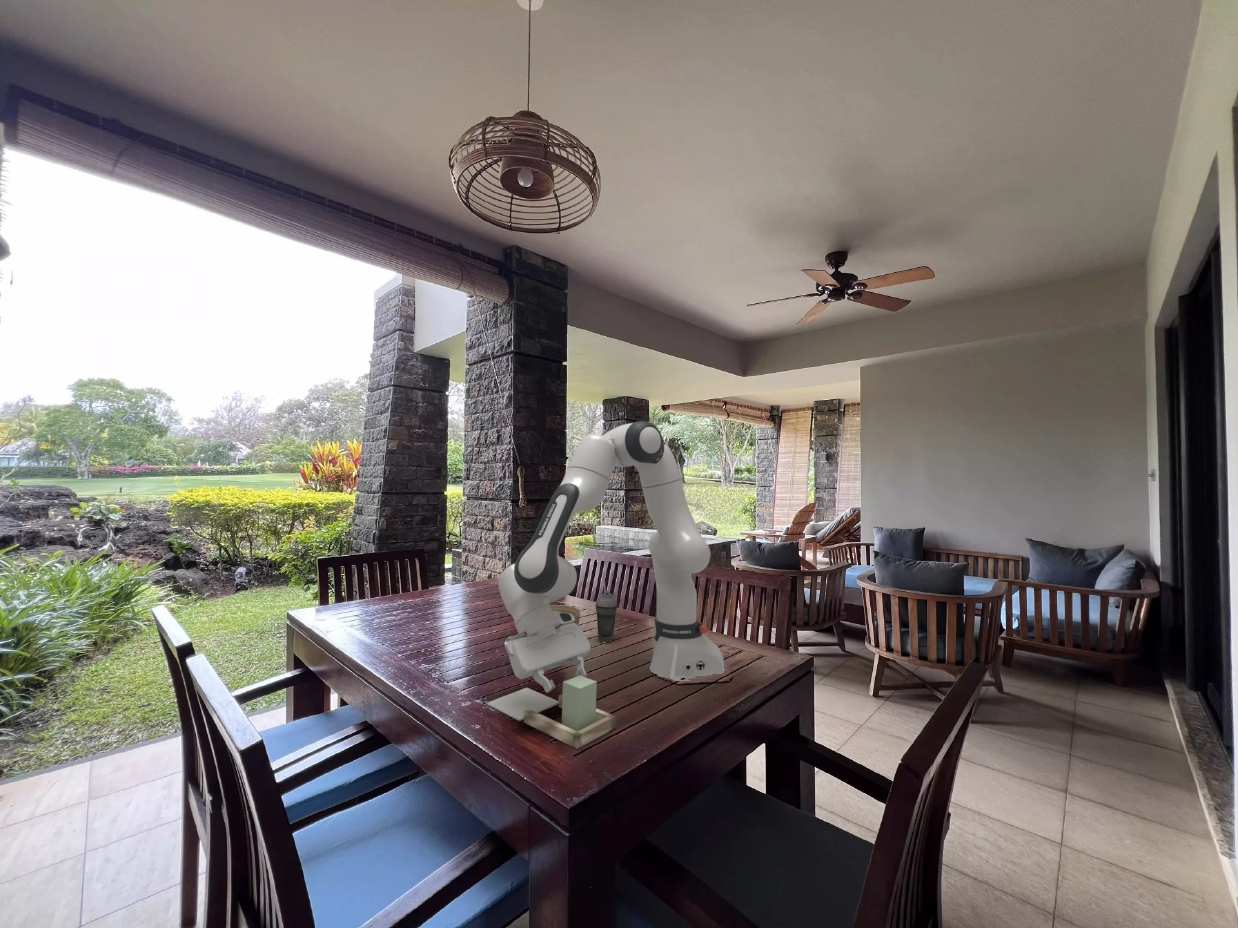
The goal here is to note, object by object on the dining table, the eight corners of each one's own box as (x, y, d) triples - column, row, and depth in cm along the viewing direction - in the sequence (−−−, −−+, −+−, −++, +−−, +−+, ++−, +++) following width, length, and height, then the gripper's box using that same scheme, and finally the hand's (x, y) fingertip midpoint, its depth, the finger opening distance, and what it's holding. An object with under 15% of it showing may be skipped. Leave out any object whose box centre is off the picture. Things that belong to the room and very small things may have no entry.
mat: (486, 704, 118) (486, 702, 118) (526, 688, 127) (526, 687, 127) (519, 720, 110) (519, 719, 110) (560, 703, 120) (560, 701, 120)
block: (561, 729, 107) (562, 681, 107) (578, 721, 111) (579, 675, 111) (578, 738, 104) (579, 688, 104) (595, 729, 108) (596, 681, 108)
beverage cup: (608, 646, 161) (610, 582, 162) (589, 641, 165) (591, 579, 166) (620, 640, 167) (622, 579, 168) (602, 636, 171) (603, 576, 172)
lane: (523, 721, 110) (524, 710, 110) (562, 704, 119) (562, 694, 119) (577, 748, 100) (577, 735, 100) (615, 727, 108) (615, 716, 108)
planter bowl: (518, 644, 161) (519, 609, 161) (560, 635, 172) (560, 602, 172) (547, 658, 149) (548, 621, 149) (590, 647, 160) (591, 612, 160)
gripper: (508, 629, 107) (537, 690, 100) (577, 612, 123) (606, 663, 116) (494, 646, 110) (522, 706, 103) (564, 627, 125) (591, 678, 119)
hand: (567, 683), depth 110 cm, fingers open, 8 cm apart
